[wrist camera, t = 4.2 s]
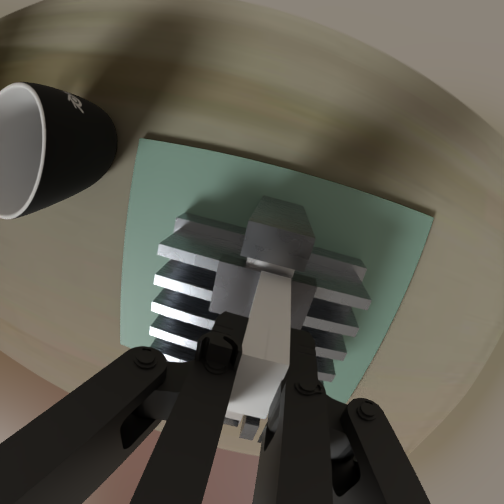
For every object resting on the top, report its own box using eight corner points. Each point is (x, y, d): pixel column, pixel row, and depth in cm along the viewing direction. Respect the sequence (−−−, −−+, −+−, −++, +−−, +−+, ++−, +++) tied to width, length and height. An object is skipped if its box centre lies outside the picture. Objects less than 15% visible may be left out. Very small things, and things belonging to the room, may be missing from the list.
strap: (193, 406, 21) (189, 418, 19) (226, 243, 16) (220, 251, 14) (255, 422, 20) (253, 434, 19) (318, 267, 15) (320, 278, 14)
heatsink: (165, 349, 27) (127, 414, 18) (191, 178, 21) (134, 192, 13) (305, 386, 26) (308, 461, 18) (372, 226, 21) (420, 269, 13)
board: (123, 340, 28) (120, 343, 27) (143, 138, 21) (139, 138, 21) (345, 399, 27) (345, 403, 27) (430, 216, 21) (433, 217, 20)
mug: (146, 110, 21) (65, 91, 11) (112, 209, 24) (31, 242, 14) (54, 84, 20) (-23, 73, 11) (30, 168, 23) (-45, 183, 14)
